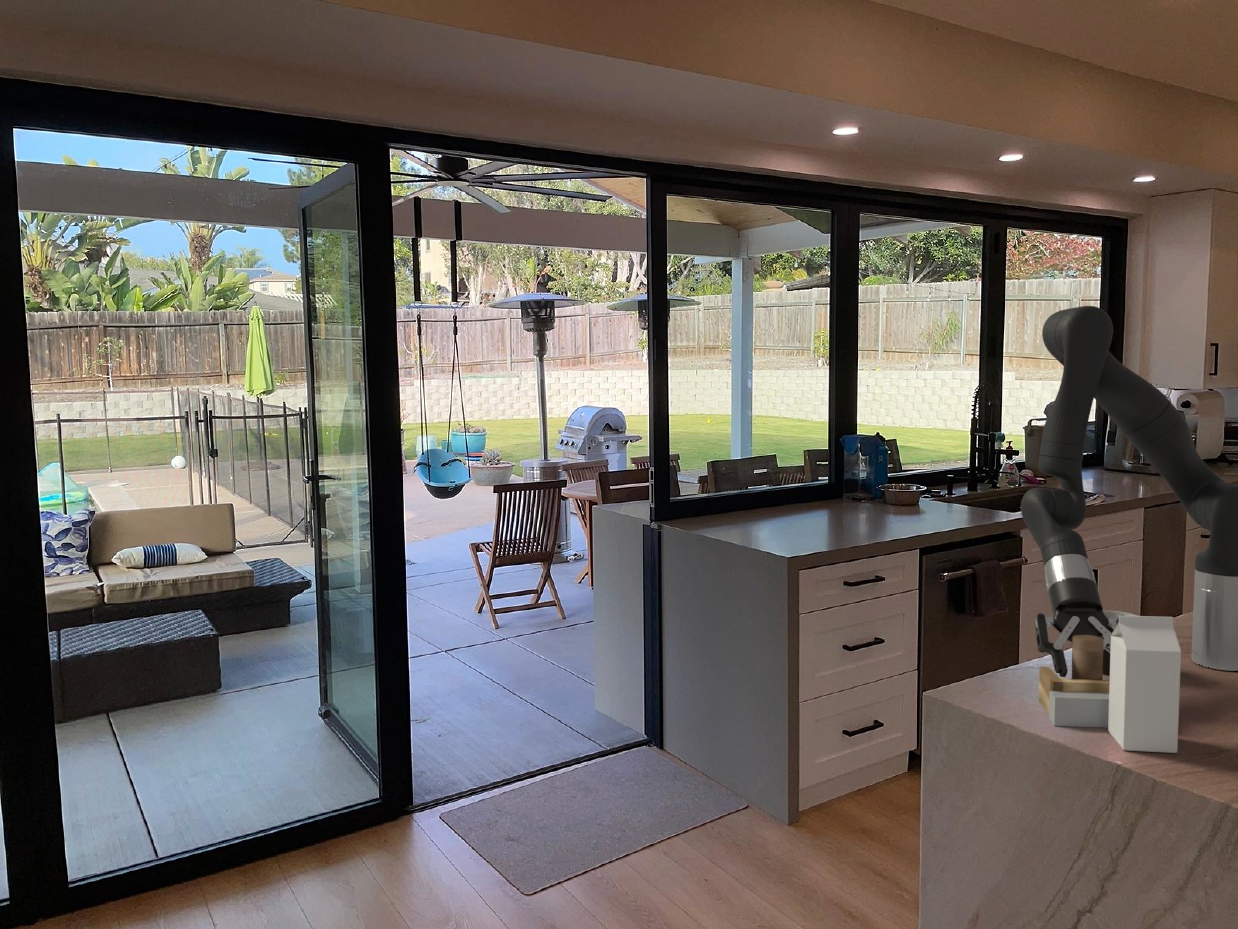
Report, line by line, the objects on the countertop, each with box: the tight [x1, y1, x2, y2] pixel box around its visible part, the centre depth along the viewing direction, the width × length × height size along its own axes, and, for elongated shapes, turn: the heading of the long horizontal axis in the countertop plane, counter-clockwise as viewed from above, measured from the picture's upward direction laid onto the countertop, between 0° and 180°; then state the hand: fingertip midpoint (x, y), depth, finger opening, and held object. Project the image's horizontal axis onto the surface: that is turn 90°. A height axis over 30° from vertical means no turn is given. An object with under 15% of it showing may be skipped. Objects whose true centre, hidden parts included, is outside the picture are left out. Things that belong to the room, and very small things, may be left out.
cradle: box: [1038, 666, 1110, 714], centre depth 149 cm, size 13×8×6 cm, turn 81°
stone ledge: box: [1048, 691, 1109, 729], centre depth 144 cm, size 14×3×4 cm, turn 81°
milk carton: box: [1107, 615, 1182, 754], centre depth 136 cm, size 7×7×19 cm
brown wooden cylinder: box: [1071, 635, 1104, 680], centre depth 149 cm, size 4×4×12 cm
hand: (1093, 675), depth 147 cm, fingers open, 8 cm apart
